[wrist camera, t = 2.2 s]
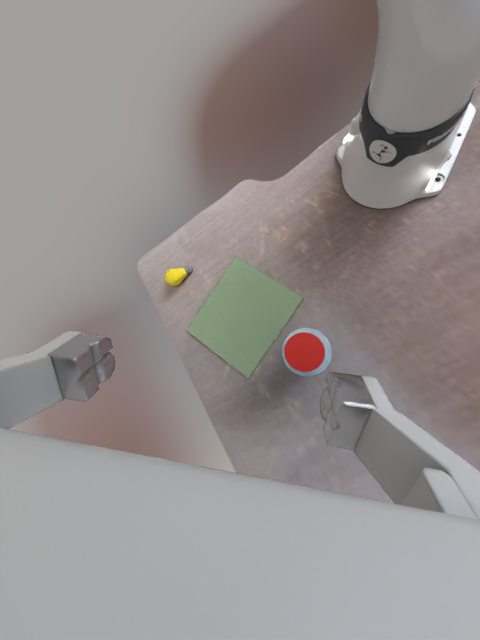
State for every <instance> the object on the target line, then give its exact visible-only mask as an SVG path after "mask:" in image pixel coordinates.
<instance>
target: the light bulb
mask: <svg viewBox="0 0 480 640" xmlns="http://www.w3.org/2000/svg"><path fill="white" fill-rule="evenodd" d="M191 272H192V267H189V266H188V267H186V268H180V269H170V270H168V271H167V272H166V274H165V280H166V282H167V283H168V284H169V285H172V286H177V285H179V284H180V283H181V282H182V280H183V279H184V278H185V277H186V276H187V274H189V273H191Z"/></svg>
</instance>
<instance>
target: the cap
mask: <svg viewBox="0 0 480 640" xmlns="http://www.w3.org/2000/svg"><path fill="white" fill-rule="evenodd" d="M284 354H285V358H286V360H287V362H288V364H289V365H290V366H291V367H292V368H294V369H295V370H298V371H301V372H311V371H313V370H315V369H317V368H318V367H319V366H320V365H321V364H322V362H323V360H324V358H325V348H324V345H323V343H322V342H321V340H320V339H319V337H317V336H315V335H313V334H311V333H307V332H301V333H297V334H295V335H293V336H292V337H290V338H289V340H288V341H287V343H286V345H285V349H284Z"/></svg>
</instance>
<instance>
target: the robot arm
mask: <svg viewBox="0 0 480 640" xmlns="http://www.w3.org/2000/svg"><path fill="white" fill-rule="evenodd" d="M376 2H377V9H378V21H379V28H378V40H377V49H376V55H375V62H374V69H373V74H372V79H371V83H370V84H369V86H368V88H367V90H366V94H365V97H364V99H363V102H362V106H361V110H360V112H359V114H358V115H357V116H356V118H354V119H353V120H352V121H351V124H350V128H349V132H348V135H347V136H346V137H345V138H344V139H343V144H342V145H341V146H340V147H339V148H338V151H337V155H336V156H337V160H338V162H339V164H340V165H341V168H342V182H343V185H344V188H345V190H346V192H347V193H348V195H349V196H350V197H351V198H352V199H353V200H355V201H356V202H358V203H359V204H361V205H364V206H367V207H370V208H378V209H385V208H393V207H397V206H400V205H403V204H405V203H407V202H410V201H412V200H414V199H417V198H423V197H431V196H435V195H437V194H439V193H440V192H441V190H442V188H443V187H444V184H445V182H446V180H447V177H448V175H449V173H450V171H451V168H452V166H453V164H454V162H455V159H456V157H457V155H458V152H459V150H460V148H461V146H462V143H463V141H464V139H465V137H466V134H467V132H468V130H469V127H470V125H471V123H472V121H473V118H474V116H475V113H476V109H475V108H474V106H473V105H472V104H471V103H470V101H471V99H472V97H473V94H474V88H475V86H476V84H477V83H478V81H479V79H480V0H376ZM435 180H438V181H439V182H436V181H435ZM111 349H112V342H111V339H109V338H108V337H103V336H98V335H92V334H86V333H80V332H74V331H68V332H65V333H64V334H62V335H60V336H59V337H57V338H55V339H54V340H52V341H51V342H49V343H47V344H46V345H44V346H42V347H41V348H39V349H38V350H36V351H34V352H33V353H30V352H27V353H23V354H19V355H16V356H12V357H8V358H4V359H0V640H480V471H479V470H477V469H476V468H475V467H473V466H472V465H470V464H469V463H468V462H466V461H465V460H464V459H462V458H461V457H460V456H458V455H457V454H456V453H454V452H453V451H452V450H450V449H449V448H448V447H446V446H445V445H443V444H442V443H441V442H439V441H438V440H437V439H435V438H434V437H433V436H431V435H430V434H429V433H427V432H426V431H425V430H423V429H422V428H421V427H419V426H418V425H417V424H415V423H414V422H412V421H411V420H410V419H408V418H407V417H406V416H404V415H403V414H402V413H399V412H396V411H395V410H394V408H393V406H392V404H391V403H390V401H389V399H388V397H387V396H386V394H385V392H384V390H383V389H382V387H381V385H380V383H379V382H378V380H377V379H376V378H375V377H370V376H362V375H352V374H345V373H337V372H330V371H329V373H328V375H327V378H326V384H327V388H325V389H324V390H323V391H322V395H321V399H320V413H321V417H322V418H323V420H324V421H325V424H324V433H325V438H326V442H327V445H330V446H335V447H340V448H345V449H350V450H354V453H355V454H356V455H357V456H358V458H359V459H360V460H361V461H362V463H363V464H364V465H365V466H366V468H367V469H368V470H369V472H370V473H371V474H372V475H373V477H374V478H375V479H376V480H377V482H378V483H379V484H380V485H381V487H382V488H383V489H384V490H385V492H386V493H387V494H388V496H389V497H390V498H391V499H392V501H393V502H394V503H395V504H394V503H389V502H384V501H378V500H373V499H368V498H363V497H358V496H352V495H347V494H342V493H337V492H332V491H326V490H321V489H316V488H311V487H306V486H300V485H295V484H290V483H285V482H280V481H275V480H269V479H264V478H259V477H254V476H249V475H243V474H238V473H233V472H228V471H223V470H217V469H212V468H207V467H202V466H196V465H191V464H186V463H181V462H175V461H171V460H165V459H160V458H155V457H149V456H145V455H139V454H134V453H129V452H124V451H119V450H113V449H108V448H103V447H98V446H92V445H87V444H82V443H77V442H72V441H67V440H61V439H56V438H51V437H46V436H40V435H35V434H30V433H25V432H19V431H15V430H9V428H11V427H13V426H15V425H17V424H19V423H21V422H23V421H25V420H26V419H28V418H30V417H32V416H34V415H36V414H38V413H40V412H42V411H43V410H45V409H47V408H49V407H51V406H53V405H55V404H57V403H58V402H60V401H62V400H63V399H68V400H76V401H82V402H87V401H88V400H89V399H90V398H91V397H92V396H93V395H94V394H95V393H96V392H97V391H98V389H99V384H101V383H103V382H105V381H107V380H108V379H109V378H110V377H111V375H112V373H113V371H114V369H115V359H114V356H113V355H112V354H111V353H110V350H111Z"/></svg>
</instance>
